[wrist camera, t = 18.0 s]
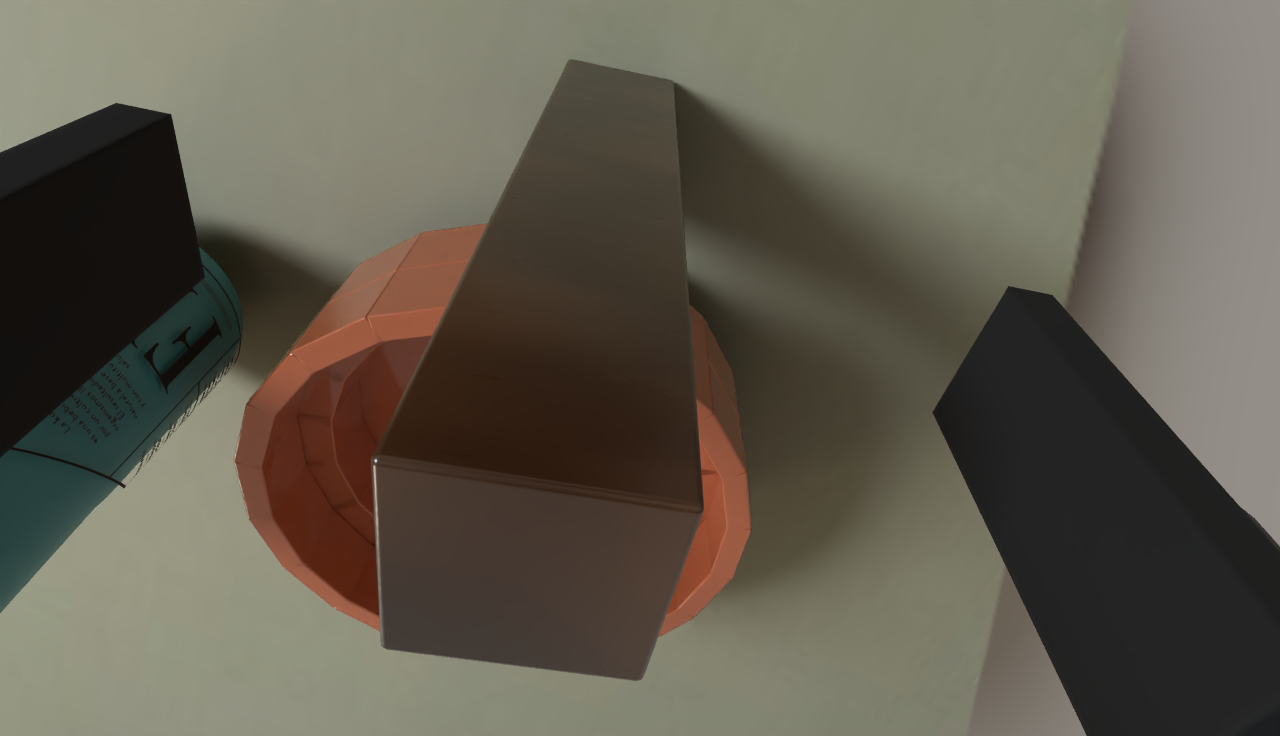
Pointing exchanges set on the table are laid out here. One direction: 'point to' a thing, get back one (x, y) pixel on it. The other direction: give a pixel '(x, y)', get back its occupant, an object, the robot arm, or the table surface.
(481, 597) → the stick
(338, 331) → the bowl
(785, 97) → the table surface
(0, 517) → the beverage bottle
